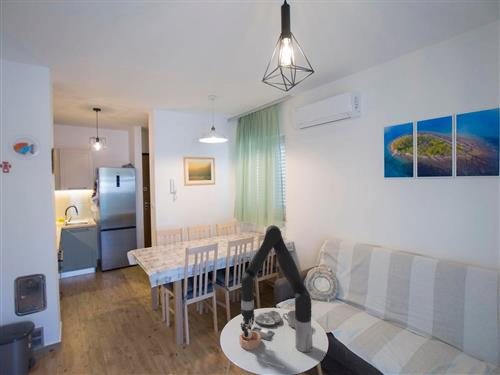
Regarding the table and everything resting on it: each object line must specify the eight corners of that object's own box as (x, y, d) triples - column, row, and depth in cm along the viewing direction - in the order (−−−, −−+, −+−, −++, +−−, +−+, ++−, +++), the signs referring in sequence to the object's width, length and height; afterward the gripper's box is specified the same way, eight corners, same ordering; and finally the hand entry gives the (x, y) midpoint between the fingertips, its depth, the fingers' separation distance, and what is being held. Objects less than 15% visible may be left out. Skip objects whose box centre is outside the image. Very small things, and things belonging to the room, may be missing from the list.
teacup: (305, 324, 180) (305, 312, 180) (300, 332, 171) (299, 320, 171) (287, 318, 188) (287, 307, 187) (280, 326, 178) (280, 314, 178)
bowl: (263, 340, 162) (263, 333, 162) (254, 352, 152) (254, 344, 152) (246, 335, 168) (246, 328, 168) (236, 346, 157) (236, 339, 157)
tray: (273, 333, 170) (273, 331, 170) (268, 341, 162) (268, 339, 162) (254, 328, 176) (254, 326, 176) (248, 335, 168) (248, 333, 168)
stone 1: (252, 335, 158) (252, 329, 158) (249, 338, 156) (249, 332, 155) (245, 333, 161) (245, 327, 160) (243, 336, 158) (243, 330, 157)
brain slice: (265, 332, 172) (265, 327, 172) (250, 320, 186) (250, 316, 186) (287, 322, 183) (287, 318, 183) (271, 312, 197) (271, 308, 197)
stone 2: (268, 335, 167) (268, 330, 167) (266, 338, 164) (266, 333, 164) (262, 334, 169) (262, 328, 169) (260, 336, 166) (260, 331, 166)
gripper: (247, 313, 149) (247, 343, 150) (258, 303, 162) (258, 330, 162) (236, 310, 153) (236, 339, 154) (247, 300, 165) (248, 327, 166)
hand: (247, 334), depth 158 cm, fingers closed on stone 1, 3 cm apart
